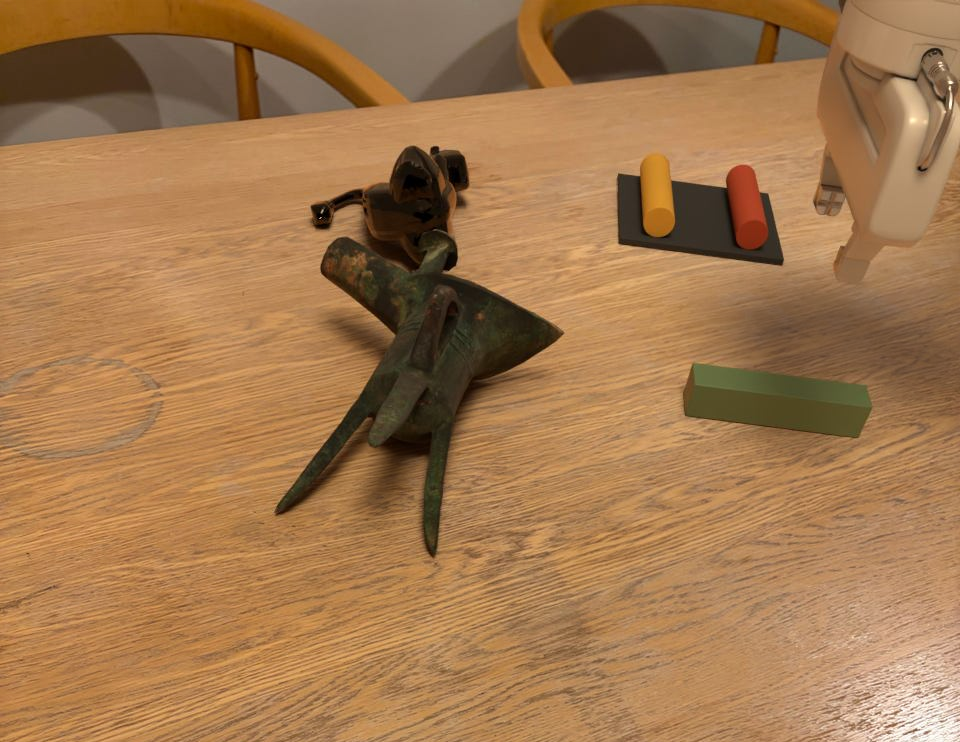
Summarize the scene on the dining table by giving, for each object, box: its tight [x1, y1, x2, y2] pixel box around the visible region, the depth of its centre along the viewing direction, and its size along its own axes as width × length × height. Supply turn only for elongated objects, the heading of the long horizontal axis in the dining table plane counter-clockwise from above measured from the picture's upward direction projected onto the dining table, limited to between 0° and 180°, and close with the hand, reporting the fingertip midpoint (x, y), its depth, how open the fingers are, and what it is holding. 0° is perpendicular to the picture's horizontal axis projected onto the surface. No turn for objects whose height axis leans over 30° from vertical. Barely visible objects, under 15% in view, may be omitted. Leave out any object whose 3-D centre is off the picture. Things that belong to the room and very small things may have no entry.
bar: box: [683, 362, 874, 439], centre depth 81 cm, size 14×3×3 cm, turn 86°
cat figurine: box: [309, 144, 471, 267], centre depth 95 cm, size 10×14×18 cm
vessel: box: [273, 229, 565, 557], centre depth 73 cm, size 19×12×25 cm
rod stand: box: [616, 152, 785, 266], centre depth 102 cm, size 16×14×4 cm
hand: (834, 243), depth 71 cm, fingers open, 8 cm apart
